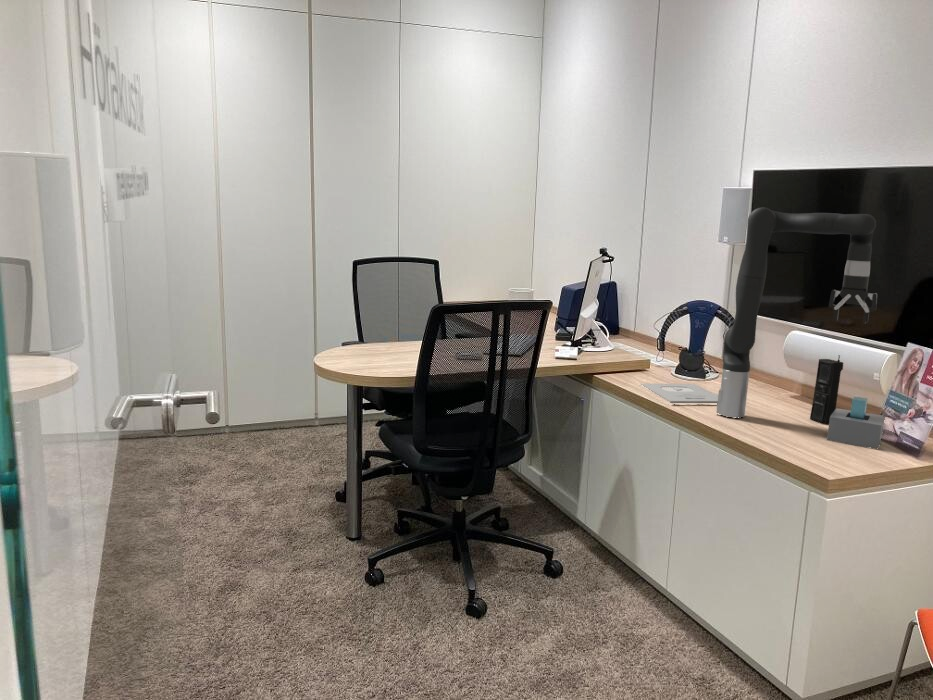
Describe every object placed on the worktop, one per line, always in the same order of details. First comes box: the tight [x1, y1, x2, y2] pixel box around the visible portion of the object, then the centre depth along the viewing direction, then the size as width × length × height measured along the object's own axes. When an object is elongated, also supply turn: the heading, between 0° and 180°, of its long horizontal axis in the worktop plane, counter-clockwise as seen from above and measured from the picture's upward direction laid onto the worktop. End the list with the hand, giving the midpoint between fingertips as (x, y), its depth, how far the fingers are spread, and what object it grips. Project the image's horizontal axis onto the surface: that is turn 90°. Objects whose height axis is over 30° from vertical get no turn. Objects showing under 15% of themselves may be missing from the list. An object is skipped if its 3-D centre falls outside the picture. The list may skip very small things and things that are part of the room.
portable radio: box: [809, 354, 844, 425], centre depth 265 cm, size 8×6×25 cm
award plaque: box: [640, 383, 718, 403], centre depth 298 cm, size 25×30×2 cm
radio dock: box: [826, 407, 886, 449], centre depth 245 cm, size 15×15×8 cm
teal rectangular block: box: [850, 396, 868, 420], centre depth 244 cm, size 4×5×13 cm
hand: (850, 322), depth 249 cm, fingers open, 8 cm apart
